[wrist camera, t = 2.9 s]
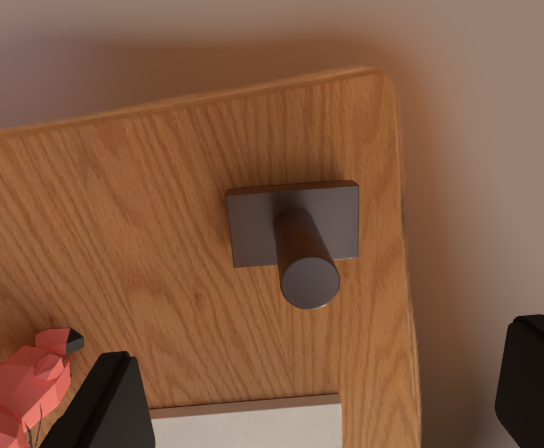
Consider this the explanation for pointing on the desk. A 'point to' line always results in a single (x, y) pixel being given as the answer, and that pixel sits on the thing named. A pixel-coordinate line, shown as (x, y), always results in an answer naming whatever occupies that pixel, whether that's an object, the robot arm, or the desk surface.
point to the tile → (252, 424)
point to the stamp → (296, 234)
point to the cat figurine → (34, 384)
